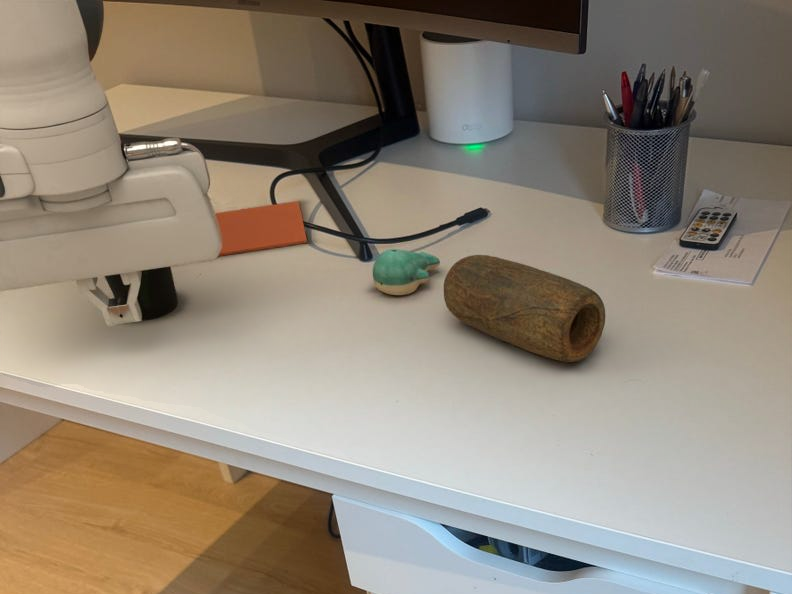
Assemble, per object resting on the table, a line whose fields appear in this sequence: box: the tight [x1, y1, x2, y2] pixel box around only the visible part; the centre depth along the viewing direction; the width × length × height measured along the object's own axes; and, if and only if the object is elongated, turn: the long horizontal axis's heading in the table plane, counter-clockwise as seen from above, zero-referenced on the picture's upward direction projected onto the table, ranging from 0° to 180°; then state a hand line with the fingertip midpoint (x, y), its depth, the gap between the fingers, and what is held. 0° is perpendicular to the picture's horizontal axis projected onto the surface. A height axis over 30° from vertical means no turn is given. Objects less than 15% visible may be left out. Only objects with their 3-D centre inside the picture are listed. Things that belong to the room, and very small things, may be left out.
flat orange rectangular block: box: [215, 200, 308, 257], centre depth 101 cm, size 20×12×1 cm, turn 102°
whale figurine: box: [372, 248, 441, 296], centre depth 88 cm, size 6×7×4 cm
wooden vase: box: [443, 254, 606, 363], centre depth 78 cm, size 15×7×7 cm, turn 48°
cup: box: [104, 266, 179, 321], centre depth 85 cm, size 8×8×12 cm
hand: (125, 320), depth 80 cm, fingers closed
